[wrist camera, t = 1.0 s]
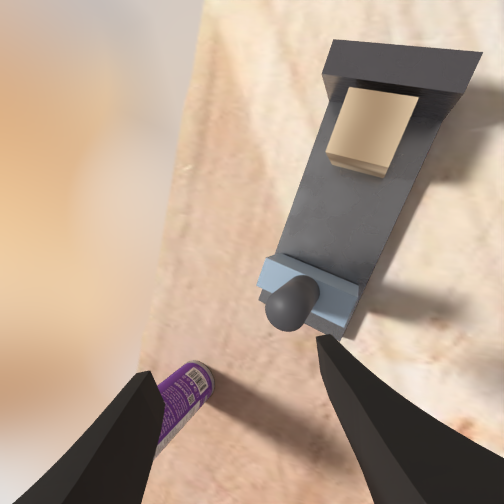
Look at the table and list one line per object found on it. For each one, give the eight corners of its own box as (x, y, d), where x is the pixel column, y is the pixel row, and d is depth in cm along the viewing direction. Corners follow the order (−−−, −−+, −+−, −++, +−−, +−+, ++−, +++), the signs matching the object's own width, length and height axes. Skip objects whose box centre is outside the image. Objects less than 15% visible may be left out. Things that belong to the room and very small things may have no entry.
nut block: (407, 122, 18) (419, 97, 14) (383, 178, 19) (388, 167, 15) (351, 112, 19) (349, 86, 16) (332, 164, 20) (325, 151, 17)
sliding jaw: (358, 285, 20) (356, 321, 13) (346, 311, 21) (337, 360, 13) (280, 252, 22) (238, 267, 15) (271, 276, 23) (227, 301, 16)
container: (179, 359, 30) (29, 468, 17) (211, 361, 28) (71, 487, 15) (185, 396, 31) (42, 534, 17) (217, 401, 29) (85, 561, 15)
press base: (452, 96, 18) (483, 52, 13) (340, 336, 22) (335, 365, 18) (340, 80, 20) (333, 39, 16) (262, 297, 25) (239, 313, 21)
